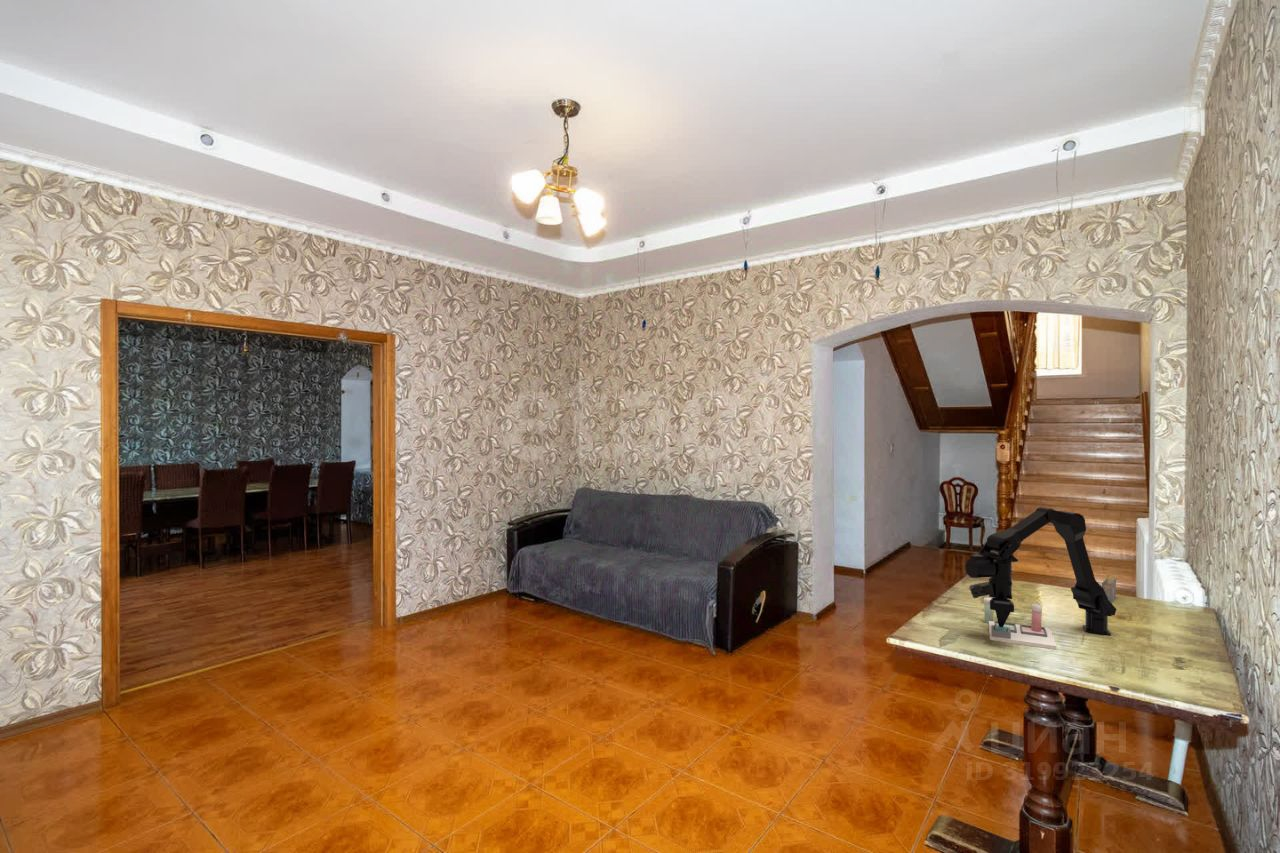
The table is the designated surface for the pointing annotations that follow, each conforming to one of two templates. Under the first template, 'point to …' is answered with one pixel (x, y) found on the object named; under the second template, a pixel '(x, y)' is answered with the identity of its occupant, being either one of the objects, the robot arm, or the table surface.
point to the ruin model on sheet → (1110, 586)
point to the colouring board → (1022, 635)
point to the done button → (1000, 628)
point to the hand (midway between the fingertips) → (1000, 626)
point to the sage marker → (987, 610)
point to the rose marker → (1036, 617)
